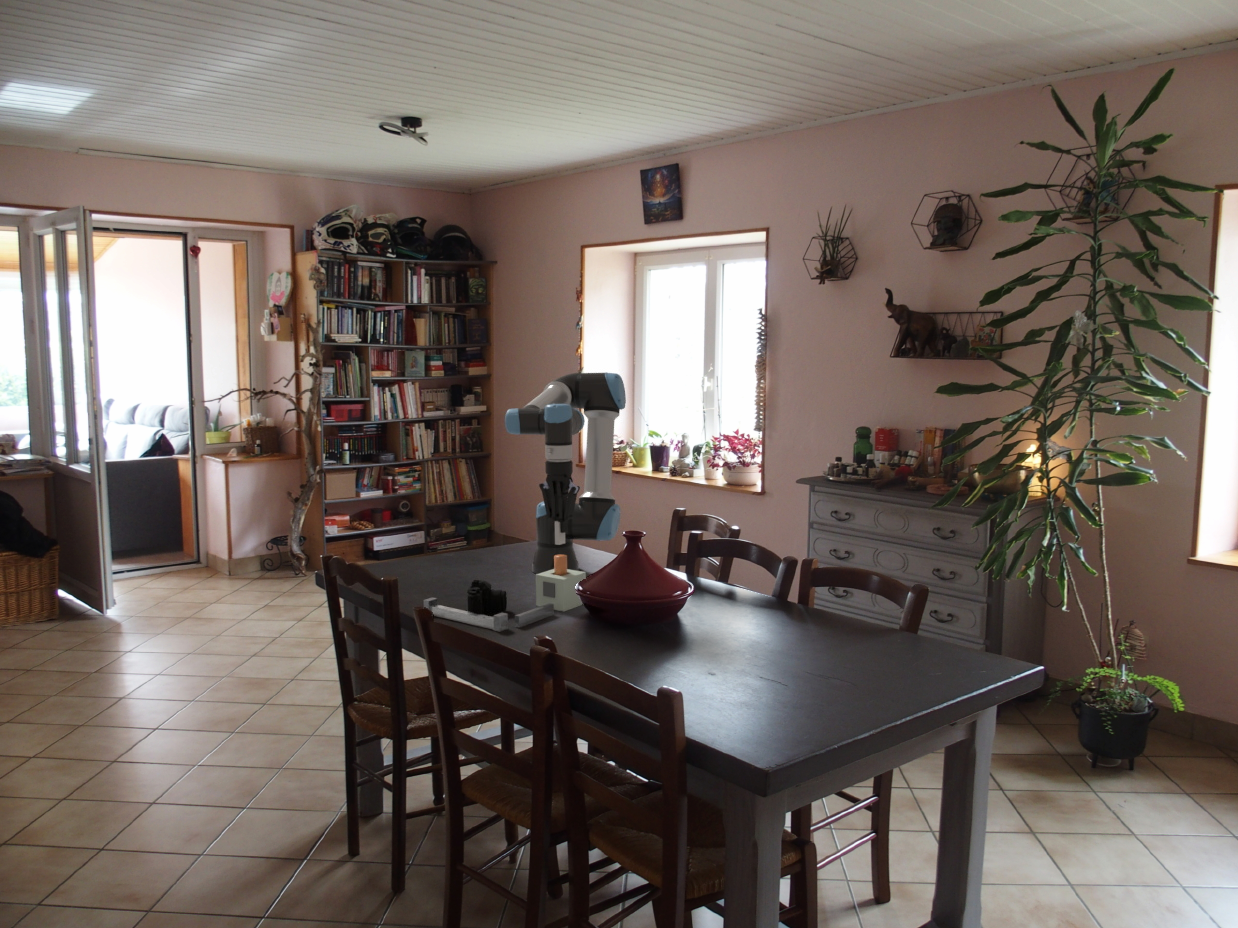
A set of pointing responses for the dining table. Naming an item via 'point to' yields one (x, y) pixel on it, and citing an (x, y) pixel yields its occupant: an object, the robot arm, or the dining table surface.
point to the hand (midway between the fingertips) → (560, 543)
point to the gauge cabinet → (558, 589)
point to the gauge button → (560, 565)
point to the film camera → (485, 598)
